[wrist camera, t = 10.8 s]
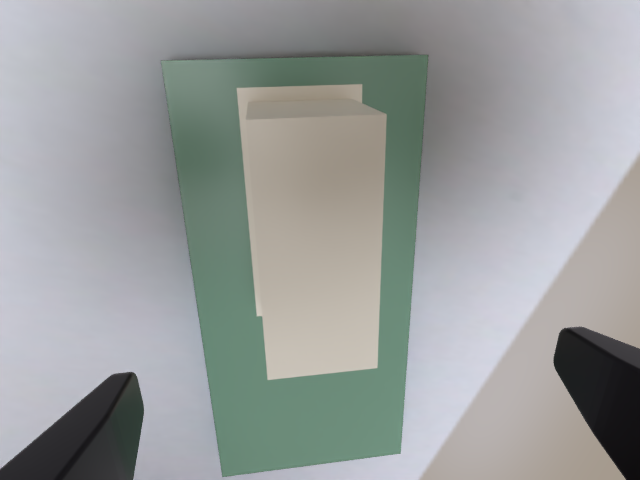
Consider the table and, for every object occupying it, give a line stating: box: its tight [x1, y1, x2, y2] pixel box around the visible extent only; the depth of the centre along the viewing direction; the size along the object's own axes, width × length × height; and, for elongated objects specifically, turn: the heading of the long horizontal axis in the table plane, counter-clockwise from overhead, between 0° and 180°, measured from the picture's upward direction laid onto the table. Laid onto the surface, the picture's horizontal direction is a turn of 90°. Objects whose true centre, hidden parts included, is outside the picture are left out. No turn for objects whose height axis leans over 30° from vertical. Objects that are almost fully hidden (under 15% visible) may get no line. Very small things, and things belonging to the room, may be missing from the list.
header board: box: [161, 55, 428, 477], centre depth 20 cm, size 21×10×4 cm, turn 1°
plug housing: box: [246, 99, 387, 380], centre depth 16 cm, size 9×4×5 cm, turn 1°
